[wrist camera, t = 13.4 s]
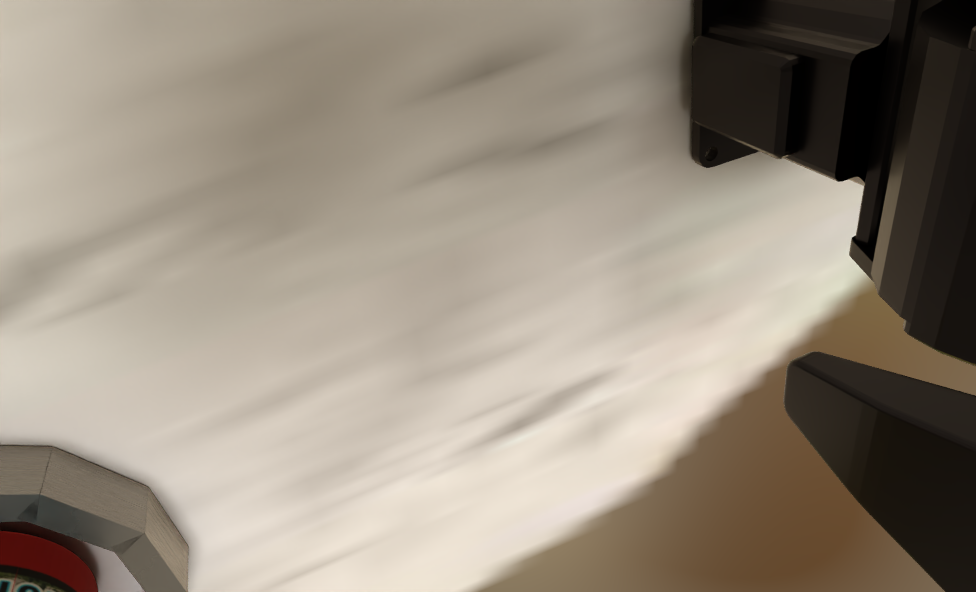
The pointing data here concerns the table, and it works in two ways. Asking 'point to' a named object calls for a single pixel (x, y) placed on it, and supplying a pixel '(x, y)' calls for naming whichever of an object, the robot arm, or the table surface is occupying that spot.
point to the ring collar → (94, 512)
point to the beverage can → (41, 566)
